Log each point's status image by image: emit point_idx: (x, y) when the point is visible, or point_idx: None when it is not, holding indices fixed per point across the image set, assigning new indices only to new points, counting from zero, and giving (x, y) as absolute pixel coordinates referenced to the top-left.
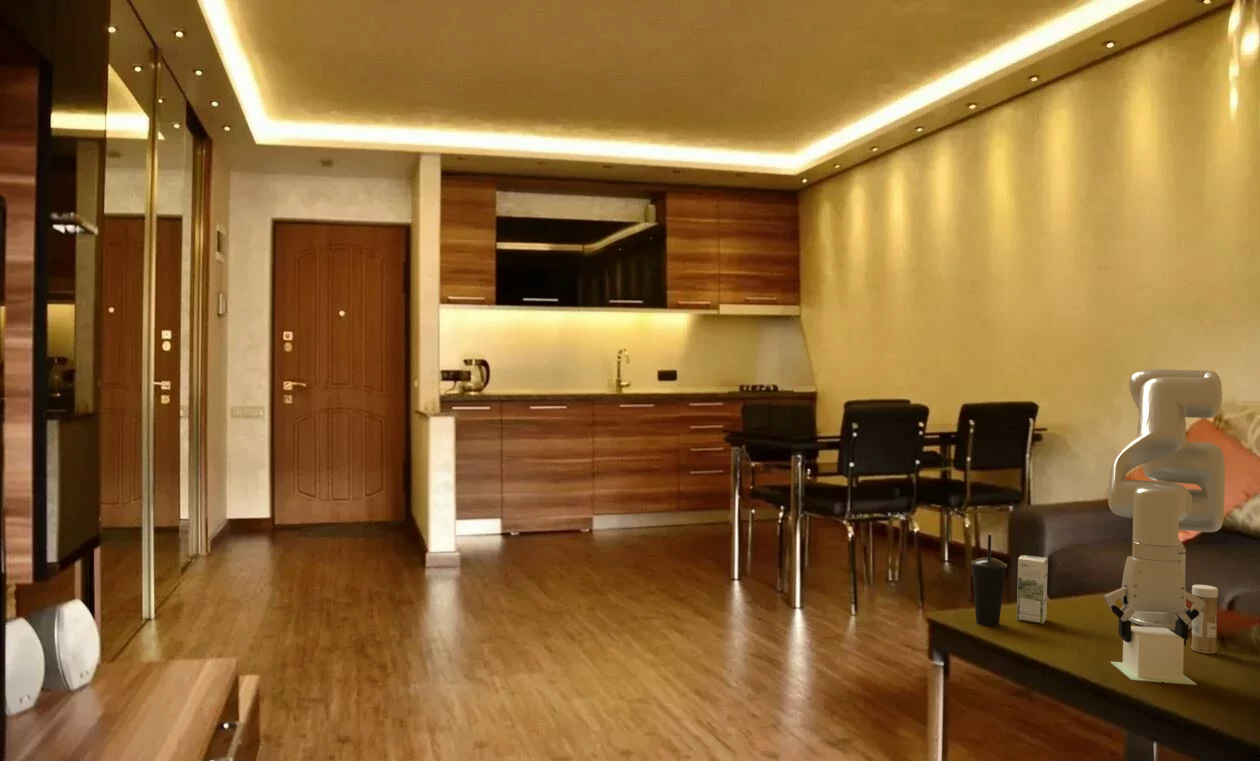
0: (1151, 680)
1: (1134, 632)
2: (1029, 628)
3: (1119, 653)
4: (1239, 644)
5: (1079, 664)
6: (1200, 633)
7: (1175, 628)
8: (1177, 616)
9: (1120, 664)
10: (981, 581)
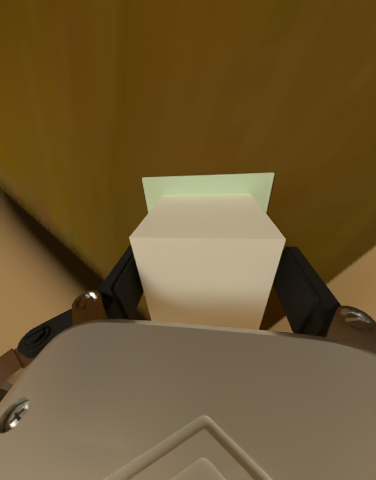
0: None
1: (148, 302)
2: None
3: (184, 50)
4: None
5: (86, 208)
6: None
7: (298, 276)
8: (325, 332)
9: (158, 196)
10: None
